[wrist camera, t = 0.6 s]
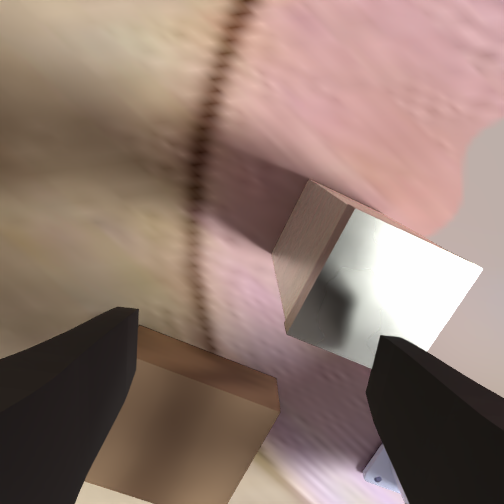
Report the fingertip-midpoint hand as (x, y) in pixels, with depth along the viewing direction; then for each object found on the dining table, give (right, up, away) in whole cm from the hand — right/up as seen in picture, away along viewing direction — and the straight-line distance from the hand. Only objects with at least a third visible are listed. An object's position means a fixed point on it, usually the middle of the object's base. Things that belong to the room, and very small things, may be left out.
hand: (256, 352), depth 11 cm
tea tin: (+4, +4, +10) cm, 11 cm away
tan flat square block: (-5, -7, +13) cm, 15 cm away
